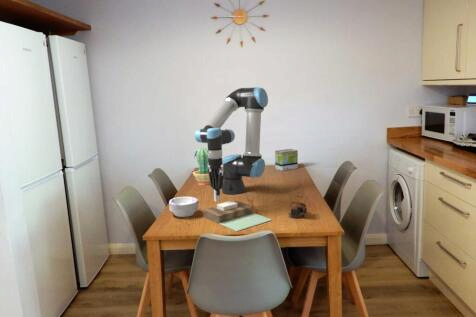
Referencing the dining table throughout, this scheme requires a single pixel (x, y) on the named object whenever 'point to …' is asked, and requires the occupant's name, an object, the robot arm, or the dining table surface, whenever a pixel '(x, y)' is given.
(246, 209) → the board
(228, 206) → the white flat block
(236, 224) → the mat
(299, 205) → the pottery mug
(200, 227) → the dining table surface
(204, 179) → the potted cactus
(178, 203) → the white round bowl
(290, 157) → the tea box
